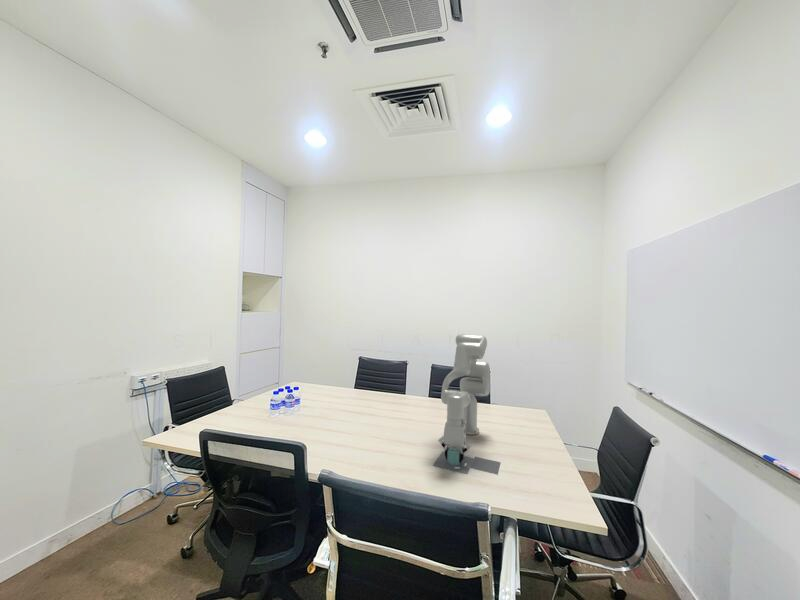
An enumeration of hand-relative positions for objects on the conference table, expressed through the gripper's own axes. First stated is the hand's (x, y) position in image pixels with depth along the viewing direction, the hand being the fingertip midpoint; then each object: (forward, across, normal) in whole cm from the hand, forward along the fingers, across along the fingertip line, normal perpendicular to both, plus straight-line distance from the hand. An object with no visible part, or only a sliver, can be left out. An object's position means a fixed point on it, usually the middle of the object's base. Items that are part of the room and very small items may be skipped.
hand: (454, 459), depth 147 cm
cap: (+1, 0, 0) cm, 1 cm away
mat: (+2, -14, -4) cm, 15 cm away
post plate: (+2, 0, 0) cm, 2 cm away
